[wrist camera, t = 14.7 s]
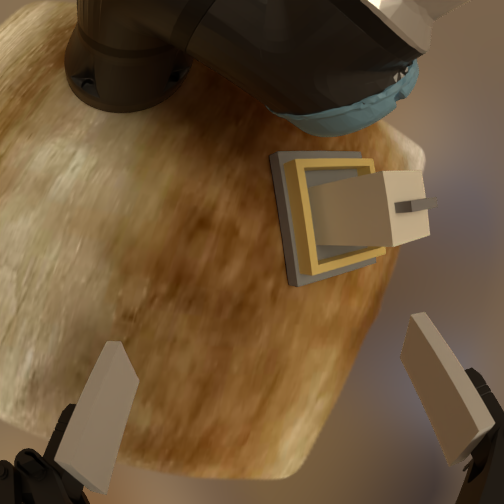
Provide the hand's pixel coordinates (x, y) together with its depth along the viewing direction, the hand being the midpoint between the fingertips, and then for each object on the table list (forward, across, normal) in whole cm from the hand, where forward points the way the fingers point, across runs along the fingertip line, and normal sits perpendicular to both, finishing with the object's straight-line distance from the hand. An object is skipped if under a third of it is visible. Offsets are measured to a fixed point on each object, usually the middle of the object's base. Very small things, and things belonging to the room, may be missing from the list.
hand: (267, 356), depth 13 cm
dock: (+29, +9, -4) cm, 30 cm away
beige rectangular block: (+27, +10, -3) cm, 29 cm away
